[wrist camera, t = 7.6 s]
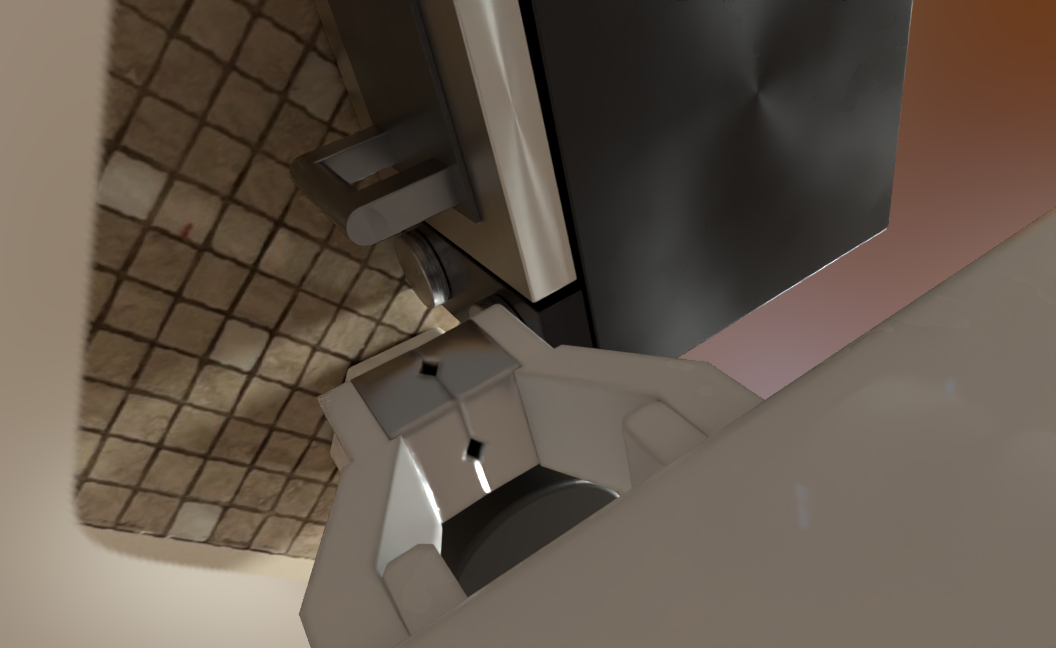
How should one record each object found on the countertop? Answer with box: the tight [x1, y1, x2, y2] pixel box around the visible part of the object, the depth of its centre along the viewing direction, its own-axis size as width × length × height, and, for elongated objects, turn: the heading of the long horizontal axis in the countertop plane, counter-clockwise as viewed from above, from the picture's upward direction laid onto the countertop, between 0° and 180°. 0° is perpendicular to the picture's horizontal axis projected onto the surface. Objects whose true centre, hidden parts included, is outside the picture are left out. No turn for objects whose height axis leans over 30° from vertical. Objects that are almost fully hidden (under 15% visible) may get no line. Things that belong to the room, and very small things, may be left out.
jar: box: [330, 327, 621, 597], centre depth 30 cm, size 9×8×12 cm
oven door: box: [289, 0, 577, 303], centre depth 21 cm, size 5×11×12 cm, turn 13°
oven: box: [395, 0, 913, 358], centre depth 25 cm, size 16×16×12 cm
